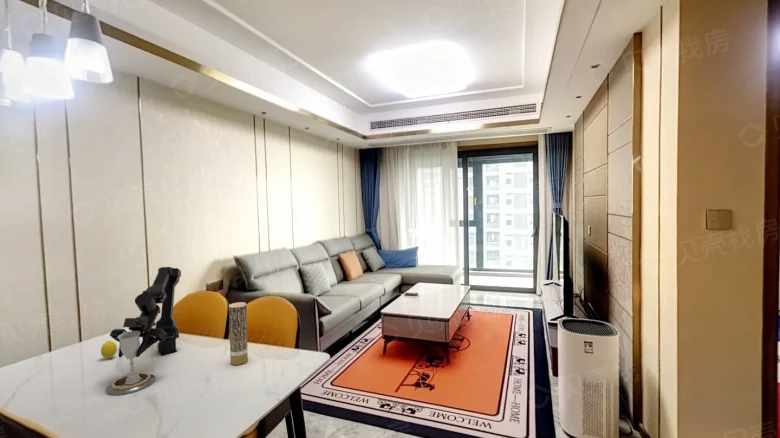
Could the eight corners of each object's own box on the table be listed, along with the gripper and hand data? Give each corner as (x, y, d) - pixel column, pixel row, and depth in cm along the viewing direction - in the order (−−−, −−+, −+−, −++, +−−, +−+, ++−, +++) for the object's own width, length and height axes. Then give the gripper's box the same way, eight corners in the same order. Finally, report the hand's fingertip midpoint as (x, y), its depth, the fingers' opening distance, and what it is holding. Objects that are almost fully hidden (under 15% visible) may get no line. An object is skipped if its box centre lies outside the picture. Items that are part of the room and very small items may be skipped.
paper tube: (250, 359, 153) (249, 302, 153) (242, 366, 146) (241, 306, 146) (235, 358, 154) (234, 302, 153) (227, 365, 147) (225, 306, 147)
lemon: (110, 361, 154) (109, 343, 154) (97, 361, 154) (97, 343, 154) (120, 356, 159) (119, 338, 159) (108, 356, 159) (107, 338, 159)
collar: (150, 372, 142) (150, 367, 142) (159, 384, 131) (159, 379, 131) (102, 385, 131) (102, 380, 131) (109, 400, 121) (108, 394, 121)
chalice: (118, 382, 131) (113, 336, 130) (138, 373, 137) (134, 329, 135) (127, 387, 128) (123, 340, 126) (148, 378, 133) (144, 333, 132)
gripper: (112, 308, 135) (89, 348, 124) (161, 307, 135) (142, 347, 124) (128, 322, 143) (107, 360, 132) (174, 321, 143) (157, 359, 132)
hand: (128, 356), depth 130 cm, fingers closed on chalice, 6 cm apart
